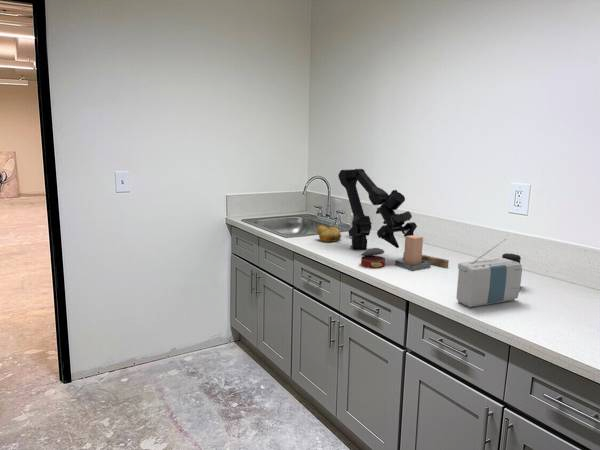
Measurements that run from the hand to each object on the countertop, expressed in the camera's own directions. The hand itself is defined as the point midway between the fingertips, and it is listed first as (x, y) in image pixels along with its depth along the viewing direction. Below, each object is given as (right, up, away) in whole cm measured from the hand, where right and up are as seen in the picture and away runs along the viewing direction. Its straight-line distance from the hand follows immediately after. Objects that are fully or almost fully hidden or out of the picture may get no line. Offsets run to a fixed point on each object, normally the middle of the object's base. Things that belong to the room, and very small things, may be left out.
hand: (406, 246), depth 197 cm
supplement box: (-14, +2, +51) cm, 53 cm away
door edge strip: (+9, -7, +3) cm, 12 cm away
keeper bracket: (+2, -8, -2) cm, 9 cm away
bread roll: (-29, +1, +43) cm, 51 cm away
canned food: (-14, -8, -1) cm, 16 cm away
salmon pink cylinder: (+2, -8, -2) cm, 8 cm away
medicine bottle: (+31, -13, -26) cm, 43 cm away
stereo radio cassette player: (+17, -16, -43) cm, 49 cm away
